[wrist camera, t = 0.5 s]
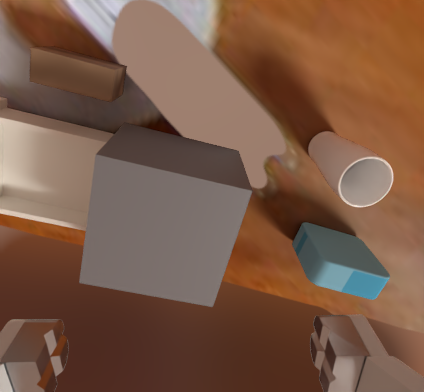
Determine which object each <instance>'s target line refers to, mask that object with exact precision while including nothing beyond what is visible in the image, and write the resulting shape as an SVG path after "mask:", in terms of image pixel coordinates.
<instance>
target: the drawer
mask: <svg viewBox="0 0 424 392" xmlns="http://www.w3.org/2000/svg"><path fill="white" fill-rule="evenodd" d="M113 135H114V134H113V133H109V132H105V131H101V130H97V129H92V128H88V127H84V126H80V125H76V124H72V123H68V122H64V121H60V120H55V119H51V118H47V117H43V116H39V115H35V114H31V113H27V112H23V111H18V110H14V109H10V108H7V98H3V97H0V213H1V214H6V215H11V216H16V217H21V218H26V219H31V220H36V221H41V222H46V223H51V224H56V225H61V226H66V227H71V228H76V229H80V230H85V231H86V226H87V218H88V211H89V203H90V195H91V187H92V179H93V171H94V163H95V155H96V153H97V152H98V151H99V150H100V149H101V148H102V147H103V146H104V145H105V144H106V143H107V142H108V140H109V139H110V138H111V137H112V136H113Z"/></svg>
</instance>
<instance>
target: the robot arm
mask: <svg viewBox="0 0 424 392" xmlns="http://www.w3.org/2000/svg"><path fill="white" fill-rule="evenodd" d="M313 325H314V328H315V332H314V333H313V334H312V335H311V340H310V349H311V355H312V359H313V362H314V365H315V366H316V367H317V368H318V369H319V370H320V376H319V379H320V382H321V385H322V388H323V390H324V392H424V377H422V376H421V375H420V374H418V373H417V372H415V371H414V370H413V369H411V368H409V367H408V366H407V365H405V364H404V363H402V362H401V361H400V360H398V359H397V358H396V357H394V356H388V354H387V352H386V350H385V349H384V347H383V345H382V344H381V342H380V340H379V339H378V337H377V336H376V334H375V332H374V331H373V329H372V327H371V326H370V324H369V322H368V321H367V319H366V317H365V316H363V315H324V316H316V317H315V319H314V323H313ZM63 331H64V325H63V322H62V320H52V319H28V320H22V319H21V320H20V319H12V320H11V321H9V322H8V323H7V324H6V325H5V327H4V328H3V330H2V331H1V333H0V392H54V391H55V388H56V386H57V381H56V376H57V375H58V374H59V373H61V372H62V371H63V369H64V367H65V364H66V361H67V356H68V341H67V338H66V337H64V336H63V335H62V333H63Z"/></svg>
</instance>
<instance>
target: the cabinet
mask: <svg viewBox="0 0 424 392" xmlns="http://www.w3.org/2000/svg"><path fill="white" fill-rule="evenodd" d="M251 194H252V188H251V186H250V183H249V180H248V177H247V174H246V171H245V168H244V165H243V162H242V160H241V157H240V154H239V151H237V150H233V149H229V148H225V147H221V146H217V145H213V144H209V143H204V142H201V141H197V140H192V139H189V138H185V137H181V136H177V135H173V134H169V133H164V132H160V131H156V130H152V129H148V128H144V127H140V126H136V125H132V124H128V123H124V124H123V125H122V126H121V128H120V129H119V130H118V131H117V132H116V133H115V134H114V135H113V136H112V137H111V138H110V139H109V140H108V142H107V143H106V144H105V145H104V146H103V147H102V148H101V149H100V150H99V151H98V152H97V153H96V155H95V163H94V171H93V179H92V187H91V195H90V203H89V211H88V218H87V226H86V234H85V242H84V250H83V258H82V266H81V274H80V282H79V283H83V284H89V285H94V286H100V287H105V288H111V289H116V290H122V291H127V292H133V293H138V294H144V295H149V296H155V297H161V298H166V299H172V300H177V301H182V302H189V303H193V304H199V305H204V306H210V307H213V304H214V302H215V299H216V296H217V293H218V290H219V287H220V284H221V281H222V278H223V275H224V273H225V270H226V267H227V264H228V261H229V258H230V255H231V252H232V249H233V246H234V243H235V240H236V237H237V235H238V232H239V229H240V226H241V223H242V220H243V217H244V214H245V211H246V208H247V205H248V202H249V199H250V196H251Z"/></svg>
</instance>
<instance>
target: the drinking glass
mask: <svg viewBox="0 0 424 392" xmlns="http://www.w3.org/2000/svg"><path fill="white" fill-rule="evenodd" d="M308 153H309V156H310V158H311V159H312V160H313V161H314V163H315V164H316V166H317V167H318V169H319V170H320V172H321V174H322V175H323V177H324V178H325V180H326V182H327V183H328V185H329V186H330V187H331V189H332V190H333V191H334V192H335V193H336V194H337V195H338V196H339V197H340V198H341V199H342V200H343V201H344V202H345V203H347V204H348V205H351V206H354V207H366V206H370V205H373V204H375V203H377V202H378V201H380V200H381V199H382V198H383V197H384V196H385V195H386V194H387V193H388V191H389V190H390V188H391V186H392V182H393V171H392V168H391V166H390V164H389V163H388V162H387V161H386V160H384V159H383V158H382V157H380V156H379V155H378V154H376V153H375V152H373V151H372V150H370V149H368V148H366V147H364V146H362V145H359V144H357V143H355V142H352V141H350V140H348V139H345V138H343V137H341V136H339V135H337V134H336V133H334V132H330V131H325V132H321V133H319V134H317V135H316V136H314V137H313V138H312V140H311V141H310V143H309V147H308Z"/></svg>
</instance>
